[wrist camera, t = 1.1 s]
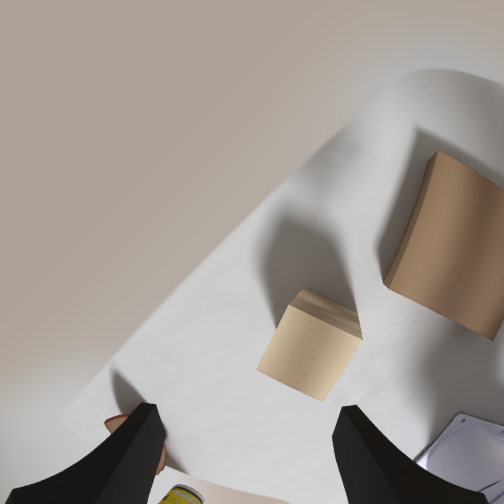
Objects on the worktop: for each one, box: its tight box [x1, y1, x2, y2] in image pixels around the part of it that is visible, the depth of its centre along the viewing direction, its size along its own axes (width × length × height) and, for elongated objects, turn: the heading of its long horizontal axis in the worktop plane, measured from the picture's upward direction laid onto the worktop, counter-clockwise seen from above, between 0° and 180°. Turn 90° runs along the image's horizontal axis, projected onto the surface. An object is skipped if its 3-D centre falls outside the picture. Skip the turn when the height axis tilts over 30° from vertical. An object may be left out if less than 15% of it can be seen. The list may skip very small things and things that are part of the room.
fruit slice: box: [104, 414, 167, 475], centre depth 24 cm, size 8×7×5 cm
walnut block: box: [383, 150, 504, 341], centre depth 15 cm, size 10×10×3 cm
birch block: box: [256, 287, 363, 402], centre depth 17 cm, size 4×4×6 cm
